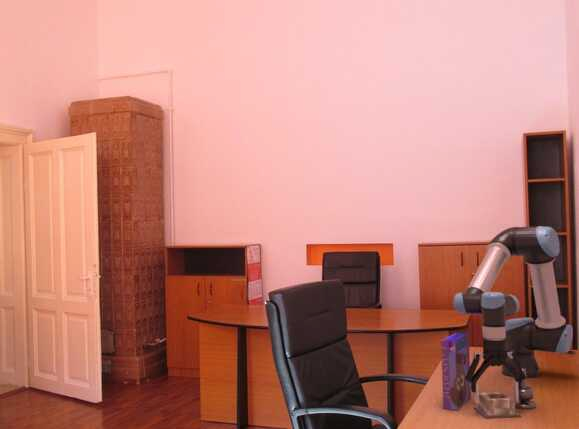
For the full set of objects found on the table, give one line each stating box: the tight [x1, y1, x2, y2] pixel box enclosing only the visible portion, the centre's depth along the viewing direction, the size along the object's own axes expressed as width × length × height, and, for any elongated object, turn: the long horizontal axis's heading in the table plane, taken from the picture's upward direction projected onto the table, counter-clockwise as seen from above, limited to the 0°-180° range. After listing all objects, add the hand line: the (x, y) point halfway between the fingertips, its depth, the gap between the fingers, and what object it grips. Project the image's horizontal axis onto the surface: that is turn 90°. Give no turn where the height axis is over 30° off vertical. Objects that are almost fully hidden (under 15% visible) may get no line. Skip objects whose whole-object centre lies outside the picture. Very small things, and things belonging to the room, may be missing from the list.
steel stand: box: [515, 368, 537, 410], centre depth 212 cm, size 8×8×13 cm
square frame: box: [478, 391, 516, 416], centre depth 206 cm, size 9×9×5 cm
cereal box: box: [440, 331, 472, 412], centre depth 217 cm, size 17×5×24 cm, turn 148°
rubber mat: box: [473, 406, 522, 419], centre depth 206 cm, size 12×11×1 cm
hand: (496, 401), depth 206 cm, fingers open, 13 cm apart
